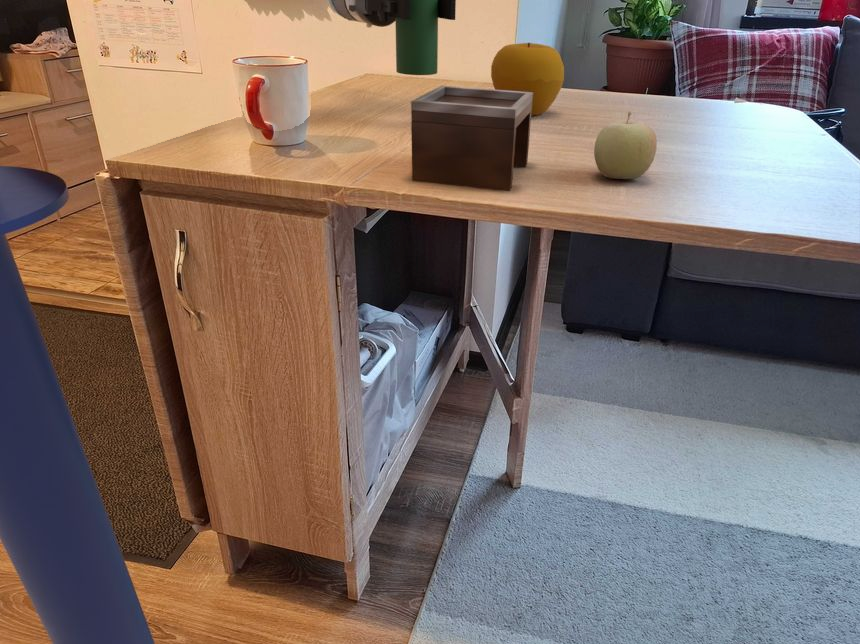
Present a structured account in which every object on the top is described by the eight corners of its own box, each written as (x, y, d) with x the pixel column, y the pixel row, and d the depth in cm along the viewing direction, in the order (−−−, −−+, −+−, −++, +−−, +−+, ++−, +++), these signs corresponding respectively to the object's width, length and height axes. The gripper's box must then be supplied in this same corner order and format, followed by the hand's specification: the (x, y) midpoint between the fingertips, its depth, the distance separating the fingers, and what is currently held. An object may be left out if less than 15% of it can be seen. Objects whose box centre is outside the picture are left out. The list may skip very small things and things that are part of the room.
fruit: (646, 189, 75) (659, 119, 71) (585, 181, 78) (594, 113, 74) (654, 173, 82) (666, 108, 77) (597, 166, 84) (606, 102, 80)
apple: (485, 117, 109) (488, 44, 103) (492, 103, 120) (496, 37, 114) (560, 121, 108) (567, 48, 102) (560, 107, 119) (567, 40, 113)
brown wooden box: (411, 180, 76) (410, 100, 71) (440, 156, 86) (440, 85, 81) (510, 190, 73) (515, 109, 69) (527, 164, 83) (533, 92, 79)
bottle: (387, 71, 99) (384, -63, 90) (417, 68, 103) (417, -61, 94) (416, 76, 95) (415, -63, 86) (445, 73, 99) (448, -61, 90)
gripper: (425, 25, 114) (488, 37, 96) (320, 25, 106) (367, 38, 88) (425, -24, 110) (491, -20, 92) (316, -28, 102) (365, -24, 84)
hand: (430, 9), depth 90 cm, fingers closed on bottle, 6 cm apart
